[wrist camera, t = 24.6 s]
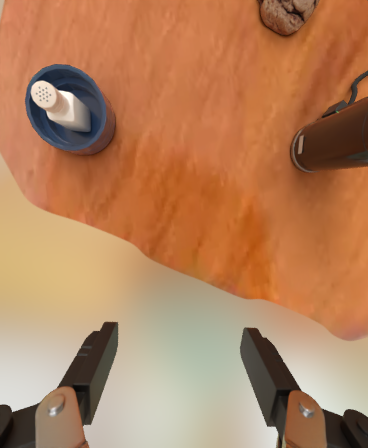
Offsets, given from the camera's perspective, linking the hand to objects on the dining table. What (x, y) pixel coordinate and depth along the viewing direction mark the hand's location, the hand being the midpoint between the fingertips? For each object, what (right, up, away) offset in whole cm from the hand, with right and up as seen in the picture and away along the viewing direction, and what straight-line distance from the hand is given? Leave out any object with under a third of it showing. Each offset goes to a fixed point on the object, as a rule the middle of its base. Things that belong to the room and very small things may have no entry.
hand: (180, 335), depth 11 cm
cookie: (+18, +46, +20) cm, 53 cm away
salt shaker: (-19, +26, +21) cm, 38 cm away
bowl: (-19, +26, +22) cm, 39 cm away
